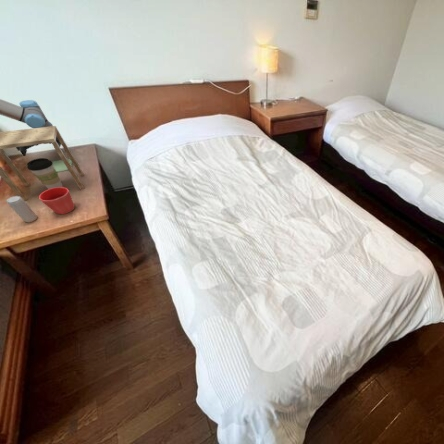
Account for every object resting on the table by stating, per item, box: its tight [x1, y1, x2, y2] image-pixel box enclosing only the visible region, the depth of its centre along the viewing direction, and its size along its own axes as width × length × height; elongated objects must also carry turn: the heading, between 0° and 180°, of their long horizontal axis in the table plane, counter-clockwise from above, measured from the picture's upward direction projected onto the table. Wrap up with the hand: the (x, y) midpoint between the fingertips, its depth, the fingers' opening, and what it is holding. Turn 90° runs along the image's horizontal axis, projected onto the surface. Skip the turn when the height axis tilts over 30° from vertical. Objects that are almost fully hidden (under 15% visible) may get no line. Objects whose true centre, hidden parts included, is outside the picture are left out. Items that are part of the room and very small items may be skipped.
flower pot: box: [38, 186, 75, 215], centre depth 119 cm, size 11×11×10 cm
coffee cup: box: [26, 157, 64, 190], centre depth 129 cm, size 10×10×15 cm
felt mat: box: [51, 158, 73, 173], centre depth 147 cm, size 14×14×1 cm
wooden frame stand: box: [0, 125, 85, 202], centre depth 124 cm, size 26×16×29 cm, turn 122°
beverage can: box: [6, 195, 38, 223], centre depth 111 cm, size 5×5×12 cm
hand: (39, 151), depth 130 cm, fingers open, 13 cm apart
